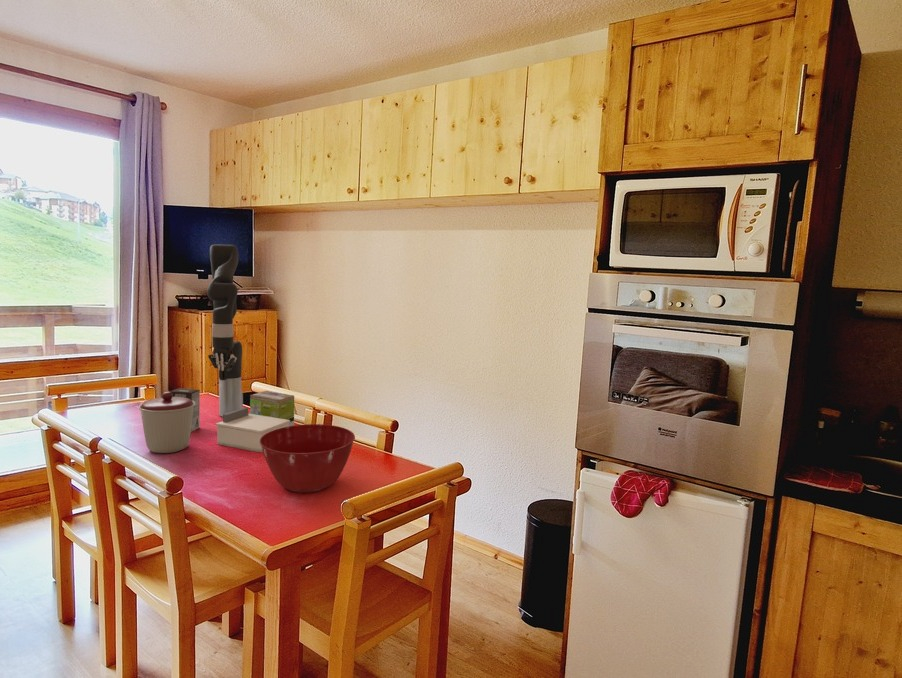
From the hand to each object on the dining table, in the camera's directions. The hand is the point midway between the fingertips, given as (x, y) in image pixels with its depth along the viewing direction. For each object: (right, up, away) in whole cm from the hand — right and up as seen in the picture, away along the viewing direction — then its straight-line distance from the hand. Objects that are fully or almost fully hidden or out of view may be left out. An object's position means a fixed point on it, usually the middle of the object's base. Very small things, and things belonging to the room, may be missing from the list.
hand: (223, 379), depth 210 cm
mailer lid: (+13, -16, -3) cm, 21 cm away
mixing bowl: (+43, -30, -40) cm, 66 cm away
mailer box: (+13, -24, -2) cm, 27 cm away
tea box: (+14, -22, +15) cm, 30 cm away
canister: (-14, -24, -14) cm, 31 cm away
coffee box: (-20, -21, +11) cm, 31 cm away
